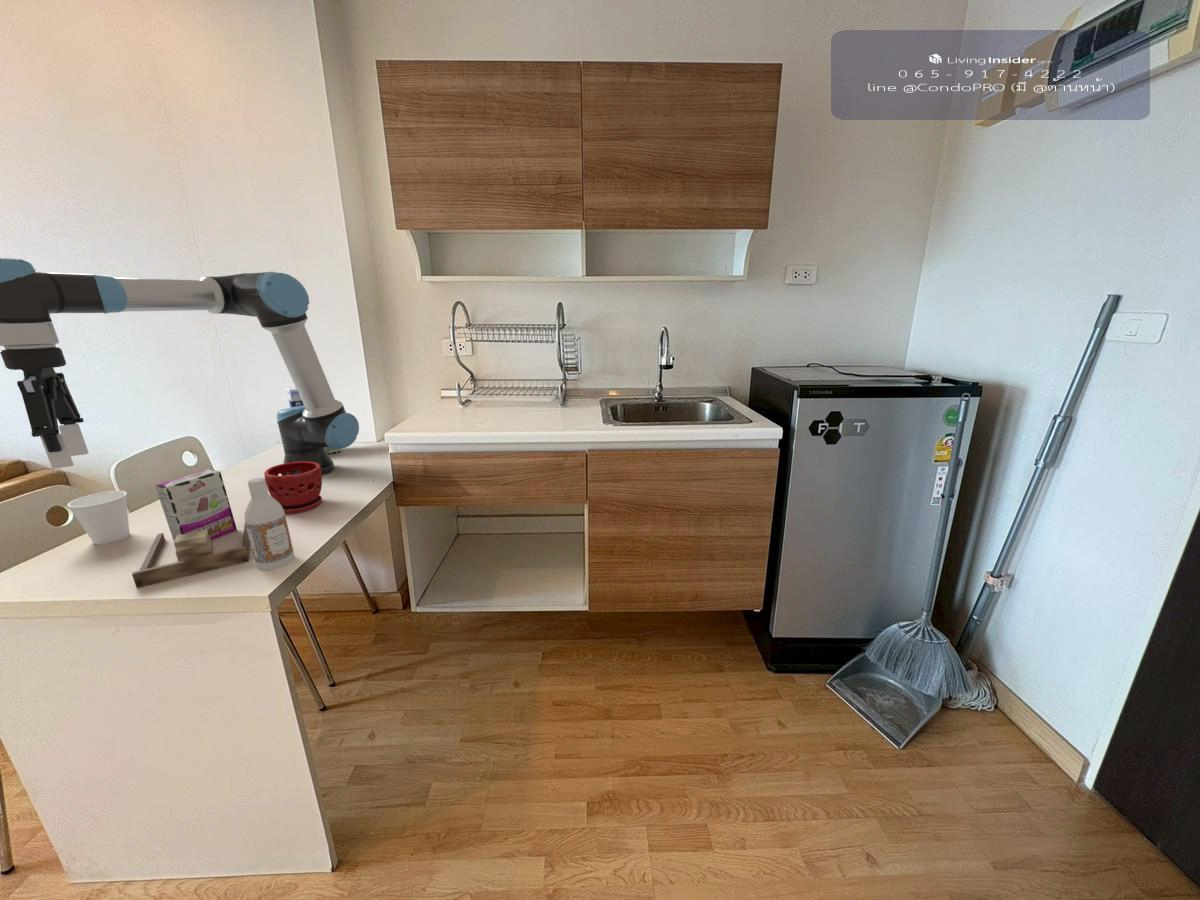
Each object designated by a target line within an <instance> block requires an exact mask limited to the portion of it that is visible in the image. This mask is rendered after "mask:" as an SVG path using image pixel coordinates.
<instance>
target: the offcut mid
mask: <svg viewBox="0 0 1200 900" xmlns="http://www.w3.org/2000/svg"><path fill="white" fill-rule="evenodd" d="M213 546H214V545H213V542H212V540H211V539H210V536H209V540H208V543H207V545H203V546H199V547H194V548H189V549H185V550H180V551H176V550H175V555H176V558H177V560H178V561H183V560H187V559H192V558H196V557H200V556H205V555H209V554H213Z"/></svg>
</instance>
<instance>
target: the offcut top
mask: <svg viewBox="0 0 1200 900" xmlns="http://www.w3.org/2000/svg"><path fill="white" fill-rule="evenodd" d="M208 540H209V535H208V531H207V529H206V530H201V531H196V532H191V533H186V534H181V535H177V537H176V539H175V541H174V540H173V544H174V548H175V552H176V551H180V550H185V549H189V548H194V547H199V546H203V545H207V543H208Z"/></svg>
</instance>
